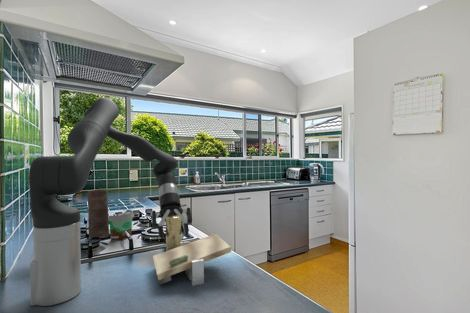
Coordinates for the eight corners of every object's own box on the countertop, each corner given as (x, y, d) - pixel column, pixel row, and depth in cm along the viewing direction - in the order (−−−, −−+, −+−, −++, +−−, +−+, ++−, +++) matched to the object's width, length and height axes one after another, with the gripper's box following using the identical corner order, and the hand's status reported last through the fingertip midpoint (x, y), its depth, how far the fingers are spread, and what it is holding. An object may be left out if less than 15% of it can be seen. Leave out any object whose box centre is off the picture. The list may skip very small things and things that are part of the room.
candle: (90, 241, 100) (89, 190, 100) (86, 237, 105) (85, 188, 105) (111, 237, 105) (110, 188, 105) (106, 233, 111) (105, 187, 110)
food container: (122, 242, 99) (122, 216, 99) (108, 241, 100) (108, 216, 100) (140, 233, 111) (140, 210, 111) (127, 232, 112) (127, 209, 112)
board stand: (192, 285, 65) (192, 262, 65) (180, 261, 80) (180, 242, 80) (203, 283, 66) (203, 260, 66) (189, 259, 82) (189, 240, 82)
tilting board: (159, 284, 64) (155, 269, 63) (154, 264, 76) (151, 251, 75) (232, 255, 71) (229, 241, 71) (217, 241, 83) (214, 229, 83)
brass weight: (167, 254, 86) (166, 219, 86) (165, 249, 91) (165, 215, 91) (182, 252, 88) (182, 217, 88) (180, 247, 93) (179, 214, 93)
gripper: (186, 202, 104) (193, 239, 93) (149, 204, 98) (152, 244, 88) (189, 190, 99) (196, 228, 88) (150, 192, 93) (153, 233, 83)
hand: (174, 236), depth 88 cm, fingers open, 7 cm apart
